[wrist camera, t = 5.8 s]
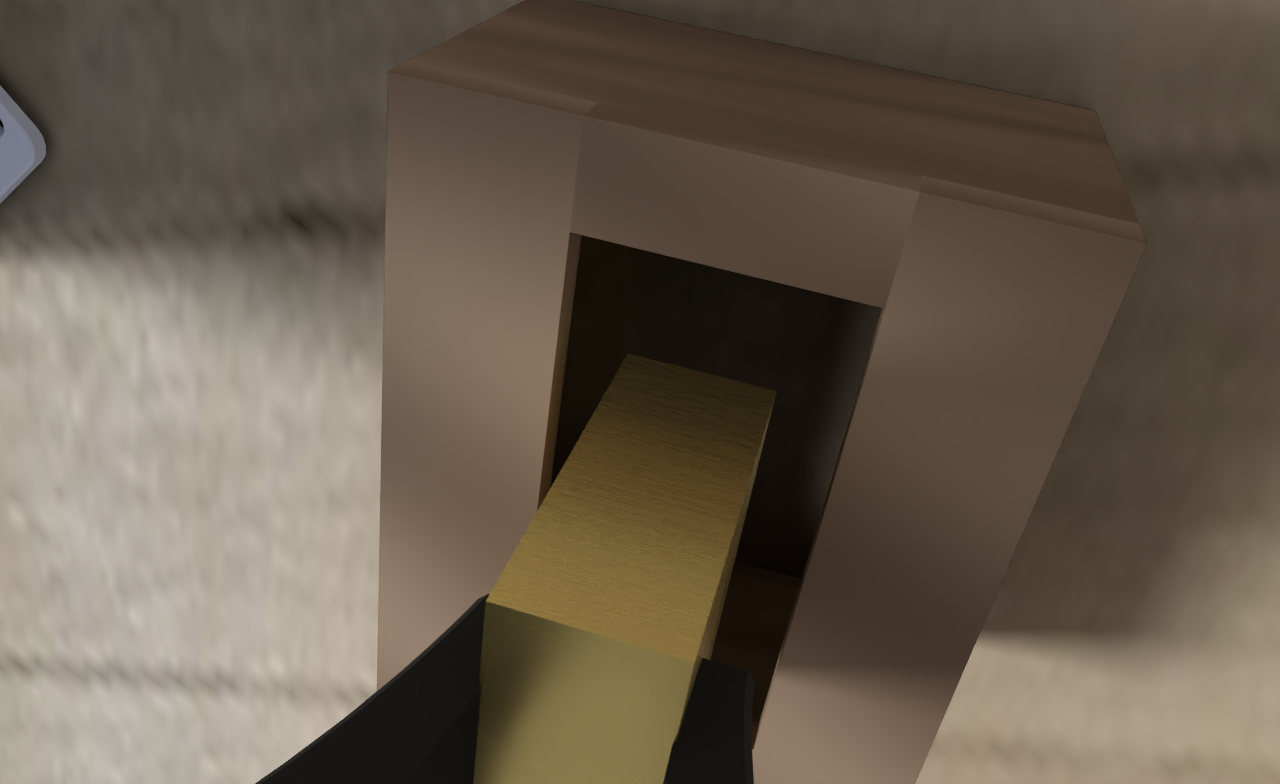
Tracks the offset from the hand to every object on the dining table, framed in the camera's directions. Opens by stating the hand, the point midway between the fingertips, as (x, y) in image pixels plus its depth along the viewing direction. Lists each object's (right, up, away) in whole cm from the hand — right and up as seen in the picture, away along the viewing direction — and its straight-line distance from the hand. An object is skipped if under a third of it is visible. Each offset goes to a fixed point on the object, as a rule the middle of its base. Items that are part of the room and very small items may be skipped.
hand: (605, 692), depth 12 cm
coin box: (+2, +4, +7) cm, 9 cm away
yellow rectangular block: (+1, +2, +3) cm, 3 cm away
